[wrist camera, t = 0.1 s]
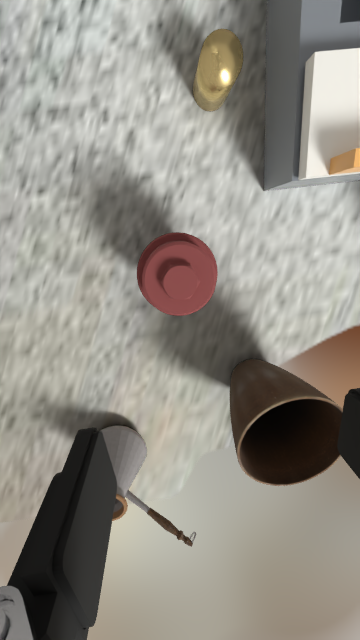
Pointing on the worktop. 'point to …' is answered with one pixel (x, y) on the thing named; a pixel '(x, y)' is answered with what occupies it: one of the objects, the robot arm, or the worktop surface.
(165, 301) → the mechanical component
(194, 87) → the peg
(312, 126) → the lid
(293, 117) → the housing
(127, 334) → the worktop surface
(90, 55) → the worktop surface
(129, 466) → the coffee pot
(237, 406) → the plant pot
